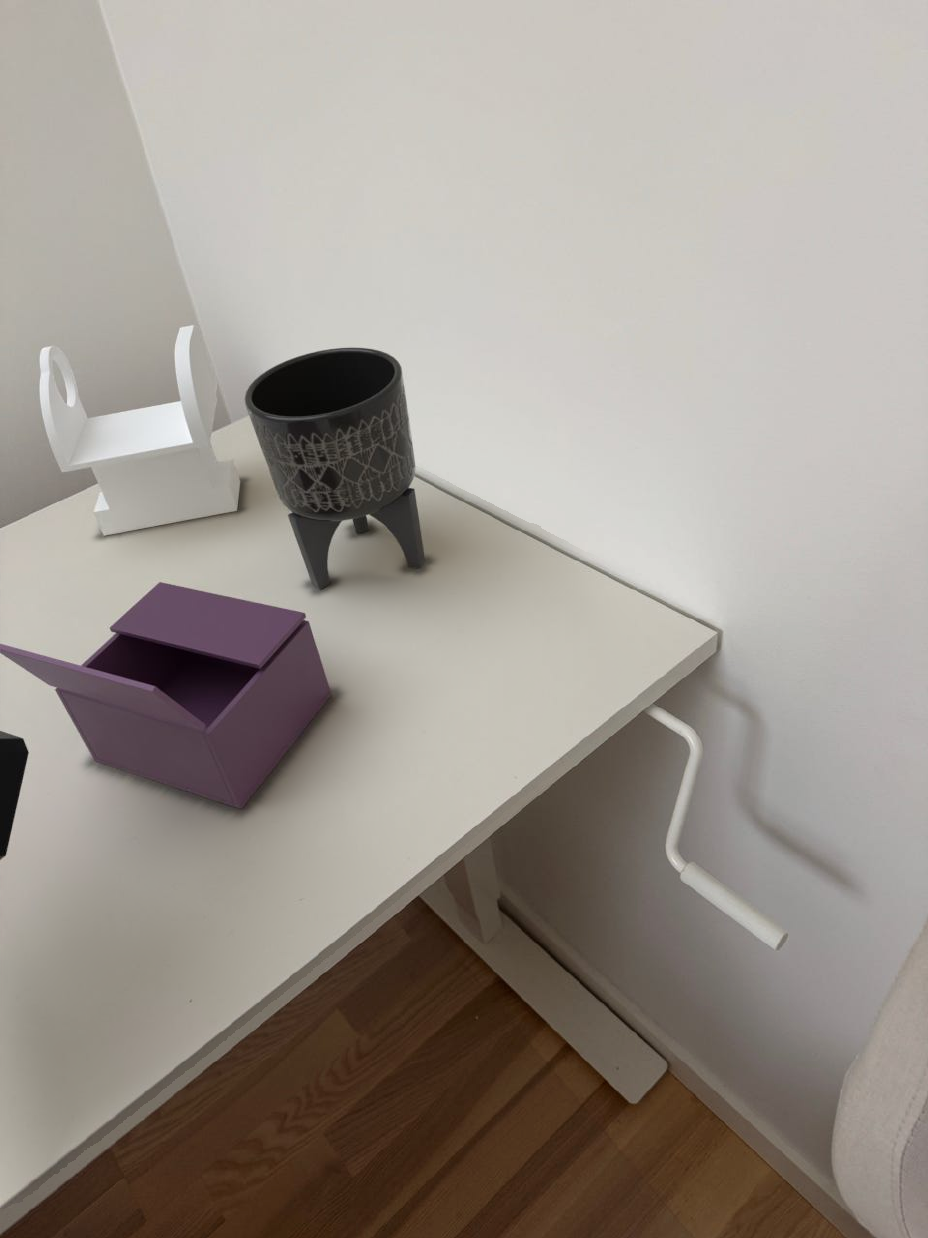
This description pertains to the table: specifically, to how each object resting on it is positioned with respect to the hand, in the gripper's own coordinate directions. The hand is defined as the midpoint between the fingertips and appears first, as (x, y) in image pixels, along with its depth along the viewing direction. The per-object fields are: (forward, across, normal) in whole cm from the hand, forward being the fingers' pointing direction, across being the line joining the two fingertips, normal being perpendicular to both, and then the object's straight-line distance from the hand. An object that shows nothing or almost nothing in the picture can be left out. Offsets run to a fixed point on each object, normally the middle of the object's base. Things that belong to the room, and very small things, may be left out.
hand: (10, 754), depth 57 cm
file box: (+18, 0, -2) cm, 18 cm away
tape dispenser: (+37, +26, -20) cm, 49 cm away
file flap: (+6, 0, -5) cm, 7 cm away
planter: (+35, 0, -18) cm, 39 cm away
